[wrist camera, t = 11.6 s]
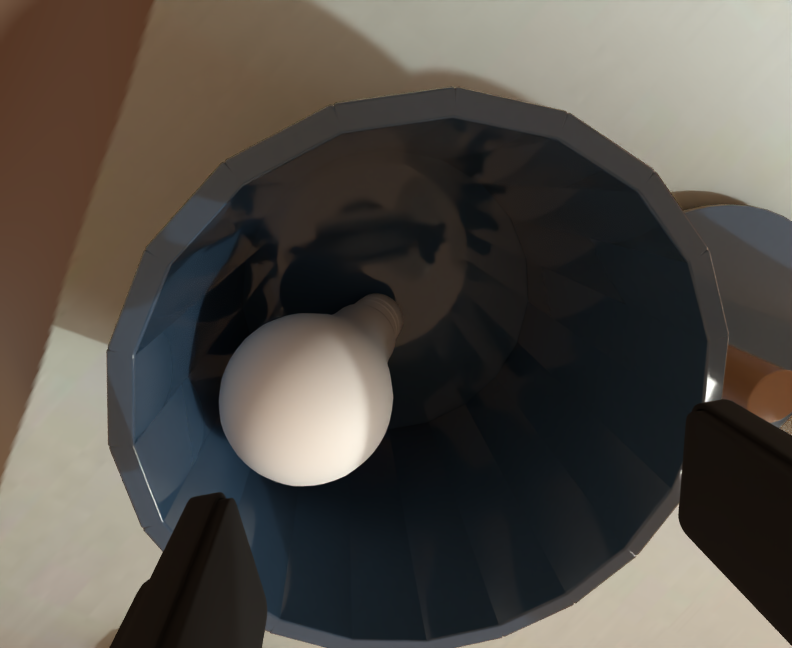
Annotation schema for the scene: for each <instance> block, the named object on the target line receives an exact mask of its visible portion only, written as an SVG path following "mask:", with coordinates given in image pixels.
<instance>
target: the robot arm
mask: <svg viewBox="0 0 792 648" xmlns="http://www.w3.org/2000/svg"><path fill="white" fill-rule="evenodd" d="M678 516H679V522H680V525H681V527H682V529H683V531H684V532H685V534H686V535H687V536H688V537H689V538H690V539H691V540H692V541H693V542H694V543H695V544H696V546H697V547H698V548H699V549H700V550H701V551H702V552H703V553H704V554H705V555H706V556H707V557H708V558H709V559H710V560H711V561H712V562H713V563H714V564H715V566H716V567H717V568H718V569H719V570H720V571H721V572H722V573H723V574H724V575H725V576H726V577H727V578H728V579H729V580H730V581H731V582H732V583H733V584H734V586H735V587H736V588H737V589H738V590H739V591H740V592H741V593H742V594H743V595H744V596H745V597H746V598H747V599H748V600H749V601H750V602H751V603H752V604H753V606H754V607H755V608H756V609H757V610H758V611H759V612H760V613H761V614H762V615H763V616H764V617H765V618H766V619H767V620H768V621H769V622H770V623H771V624H772V626H773V627H774V628H775V629H776V630H777V631H778V632H779V633H780V634H781V635H782V636H783V637H784V638H785V639H786V640H787V641H788V642H789V643H790V644H791V646H792V436H791V435H790V434H788V433H786V432H785V431H783V430H781V429H779V428H778V427H776V426H774V425H772V424H771V423H769V422H767V421H766V420H764V419H762V418H760V417H759V416H757V415H755V414H754V413H752V412H750V411H748V410H747V409H745V408H743V407H741V406H740V405H738V404H736V403H735V402H733V401H730V400H728V399H721V400H715V401H710V402H704V403H699V404H697V405H695V406H694V407H693V409H692V412H691V413H689V414H688V415H687V418H686V426H685V438H684V451H683V463H682V476H681V489H680V501H679V514H678ZM266 621H267V601H266V596H265V593H264V590H263V587H262V584H261V580H260V577H259V574H258V571H257V568H256V564H255V561H254V558H253V555H252V552H251V549H250V545H249V542H248V539H247V536H246V533H245V529H244V526H243V523H242V520H241V517H240V513H239V510H238V507H237V504H236V501H235V500H234V498H227V499H226V496H225V495H224V494H223V493H222V492H217V493H211V494H206V495H201V496H195V497H192V498H190V499H189V501H188V502H187V504H186V506H185V508H184V510H183V512H182V514H181V516H180V518H179V520H178V522H177V524H176V526H175V528H174V531H173V533H172V535H171V537H170V539H169V541H168V543H167V545H166V547H165V549H164V551H163V553H162V555H161V557H160V559H159V561H158V563H157V565H156V567H155V569H154V572H153V574H152V576H151V578H150V579H149V580H147V581H146V582H145V583H144V584H143V585H142V586H141V588H140V589H139V591H138V592H137V594H136V596H135V598H134V600H133V602H132V604H131V606H130V608H129V610H128V612H127V614H126V616H125V618H124V620H123V622H122V624H121V626H120V628H119V630H118V632H117V634H116V636H115V638H114V640H113V642H112V644H111V646H110V648H262V643H263V638H264V632H265V626H266Z"/></svg>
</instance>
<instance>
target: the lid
mask: <svg viewBox="0 0 792 648" xmlns="http://www.w3.org/2000/svg"><path fill="white" fill-rule="evenodd" d="M683 212H684V213H685V215H686V216H687V218H688V219H689V221H690V222H691V224H692V225H693V226H694V228H695V229H696V231H697V232H698V234H699V235H700V237H701V238H702V240H703V241H704V243H705V244H706V246H707V247H708V250H709V251H710V255H711V259H712V263H713V268H714V272H715V276H716V281H717V285H718V289H719V293H720V298H721V302H722V306H723V311H724V315H725V319H726V324H727V328H728V332H729V334H728V337H729V340H728V349H727V358H726V367H725V376H724V385H723V394H722V399H728V400H730V401H733V402H735V403H736V404H738V405H740V406H741V407H743V408H745V409H747V410H748V411H750V412H752V413H754V414H755V415H757V416H759V417H760V418H762V419H764V420H766V421H767V422H769V423H771V424H772V425H774V426H776V427H778V428H780V427H781V426H782V425H783V424H784V423H785V422H786V421H787V420H788V419H789V418H790V417H791V416H792V221H790V220H789V219H787V218H786V217H784V216H782V215H779V214H777V213H774V212H772V211H769V210H767V209H762V208H758V207H753V206H747V205H732V204H716V205H705V206H699V207H695V208H691V209H686V210H683Z"/></svg>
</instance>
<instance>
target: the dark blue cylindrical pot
mask: <svg viewBox="0 0 792 648" xmlns="http://www.w3.org/2000/svg"><path fill="white" fill-rule="evenodd" d="M373 293H379V294H384V295H386V296H388V297H390V298H391V299H393V300H394V301H395V302H396V303H397V304H398V306H399V307H400V309H401V311H402V314H403V325H402V328H401V331H400V333H399V334H398V336H397V338H396V339H395V347H394V350H393V353H392V354H391V356H390V358H389V360H388V363H387V364H388V368H389V371H390V377H391V383H392V391H393V404H392V412H391V417H390V422H389V425H388V427H387V430H386V433H385V435H384V437H383V439H382V440H381V442H380V444H379V445H378V447H377V448H376V450H375V451H374V452H373V454H372V455H371V456H370V457H369V458H368V459H367V460H366V461H365V462H364V463H362V464H361V465H360V466H359V467H357V468H356V469H355V470H353V471H352V472H350V473H349V474H347V475H346V476H344V477H342V478H339V479H337V480H334V481H331V482H328V483H325V484H319V485H314V486H291V485H286V484H282V483H279V482H276V481H273V480H271V479H268V478H266V477H264V476H262V475H260V474H258V473H257V472H255V471H254V470H252V469H251V468H250V467H249V466H248V465H246V464H245V463H244V462H243V461H242V460H241V459H240V457H239V456H238V455H237V454H236V452H235V451H234V449H233V448H232V446H231V445H230V443H229V441H228V439H227V437H226V435H225V433H224V431H223V428H222V425H221V420H220V411H219V393H220V386H221V379H222V377H223V374H224V371H225V368H226V366H227V364H228V362H229V360H230V358H231V357H232V355H233V354H234V352H235V351H236V350H237V348H238V347H239V346H240V344H241V343H242V342H243V341H244V339H245V338H247V337H248V336H249V335H250V334H252V333H253V332H254V331H256V330H257V329H258V328H260V327H261V326H262V325H264V324H266V323H268V322H271V321H273V320H275V319H278V318H281V317H284V316H287V315H292V314H298V313H316V314H330V315H333V314H335V313H337V312H338V311H339V310H341V309H342V308H343V307H346V306H348V305H352V304H355V303H356V302H357V301H359V300H360V299H362V298H363V297H365V296H366V295H369V294H373ZM728 334H729V332H728V328H727V324H726V319H725V315H724V311H723V306H722V302H721V298H720V293H719V289H718V285H717V281H716V276H715V272H714V268H713V263H712V259H711V255H710V251H709V250H708V247H707V246H706V244H705V243H704V241H703V240H702V238H701V237H700V235H699V234H698V232H697V231H696V229H695V228H694V226H693V225H692V224H691V222H690V221H689V219H688V218H687V216H686V215H685V213H684V212H683V210H682V209H681V207H680V206H679V204H678V203H677V202H676V200H675V199H674V197H673V196H672V194H671V193H670V191H669V190H668V188H667V187H666V185H665V184H664V182H663V181H662V180H661V178H660V177H659V175H658V174H657V173H656V172H655V171H654V170H653V169H652V168H651V167H650V166H648V165H647V164H645V163H644V162H642V161H641V160H639V159H638V158H636V157H635V156H633V155H632V154H630V153H629V152H627V151H626V150H624V149H623V148H621V147H620V146H618V145H617V144H615V143H614V142H612V141H611V140H609V139H608V138H606V137H605V136H603V135H602V134H601V133H599V132H598V131H596V130H595V129H593V128H592V127H590V126H589V125H587V124H586V123H584V122H583V121H581V120H580V119H578V118H577V117H575V116H574V115H572V114H571V113H567V112H566V111H564V110H560V109H555V108H551V107H546V106H542V105H537V104H533V103H528V102H524V101H519V100H515V99H510V98H506V97H501V96H497V95H493V94H488V93H484V92H479V91H475V90H470V89H466V88H461V87H455V88H454V87H445V88H437V89H430V90H423V91H416V92H408V93H401V94H394V95H387V96H380V97H372V98H365V99H358V100H351V101H343V102H336V103H335V104H334V106H333V105H328V106H326V107H324V108H323V109H321V110H319V111H317V112H315V113H313V114H311V115H309V116H307V117H305V118H304V119H302V120H300V121H298V122H296V123H294V124H292V125H290V126H288V127H287V128H285V129H283V130H281V131H279V132H277V133H275V134H273V135H271V136H270V137H268V138H266V139H264V140H262V141H260V142H258V143H256V144H254V145H253V146H251V147H249V148H247V149H245V150H243V151H241V152H239V153H237V154H236V155H234V156H232V157H230V158H228V159H226V161H225V162H222V163H221V164H220V165H219V166H218V167H217V168H216V169H215V170H214V172H213V173H212V174H211V175H210V176H209V177H208V178H207V179H206V181H205V182H204V183H203V184H202V185H201V186H200V187H199V188H198V189H197V191H196V192H195V193H194V194H193V195H192V196H191V197H190V198H189V200H188V201H187V202H186V203H185V204H184V205H183V206H182V207H181V208H180V210H179V211H178V212H177V213H176V214H175V215H174V216H173V217H172V218H171V220H170V221H169V222H168V223H167V224H166V225H165V226H164V227H163V229H162V230H161V231H160V232H159V233H158V234H157V235H156V236H155V237H154V239H153V240H152V241H151V242H150V243H149V244H148V245H147V246H146V250H145V251H144V252H143V255H142V258H141V260H140V263H139V265H138V268H137V271H136V273H135V276H134V279H133V281H132V284H131V286H130V289H129V292H128V294H127V297H126V300H125V302H124V305H123V308H122V310H121V313H120V315H119V318H118V321H117V323H116V326H115V329H114V331H113V334H112V337H111V339H110V342H109V344H108V349H107V408H108V445H109V446H110V447H109V449H110V451H111V454H112V456H113V459H114V461H115V464H116V466H117V468H118V471H119V473H120V476H121V478H122V481H123V483H124V485H125V488H126V490H127V493H128V495H129V498H130V500H131V503H132V505H133V507H134V510H135V512H136V515H137V517H138V520H139V522H140V525H141V527H142V528H143V529H144V531H145V532H146V533H147V535H148V536H149V537H150V538H151V539H152V540H153V541H154V542H155V543H156V545H157V546H158V547H159V548H160V549H161V550H162V551H164V549H165V547H166V545H167V543H168V541H169V539H170V537H171V535H172V533H173V531H174V528H175V526H176V524H177V522H178V520H179V518H180V516H181V514H182V512H183V510H184V508H185V506H186V504H187V502H188V501H189V499H190V498H192V497H195V496H201V495H206V494H211V493H217V492H222V493H223V494H224V495H225V496H226V499H227V498H234V500H235V501H236V504H237V507H238V510H239V513H240V517H241V520H242V523H243V526H244V529H245V533H246V536H247V539H248V542H249V545H250V549H251V552H252V555H253V558H254V561H255V564H256V568H257V571H258V574H259V577H260V580H261V584H262V587H263V590H264V593H265V596H266V601H267V621H266V626H265V630H266V631H268V632H269V631H270V633H272V634H275V635H279V636H283V637H287V638H290V639H294V640H298V641H302V642H306V643H309V644H313V645H317V646H321V647H325V648H457V647H462V646H467V645H471V644H476V643H480V642H485V641H490V640H494V639H499V638H502V636H503V637H505V636H507V635H509V634H512V633H514V632H516V631H518V630H520V629H522V628H525V627H527V626H529V625H531V624H533V623H535V622H538V621H540V620H542V619H544V618H546V617H548V616H550V615H553V614H555V613H557V612H559V611H561V610H563V609H566V608H568V607H570V606H572V605H573V604H574V603H577V602H578V601H580V600H581V599H582V598H583V597H585V596H586V595H587V594H589V593H590V592H591V591H593V590H594V589H595V588H596V587H598V586H599V585H600V584H602V583H603V582H604V581H605V580H607V579H608V578H609V577H611V576H612V575H613V574H614V573H616V572H617V571H618V570H620V569H621V568H622V567H624V566H625V565H626V564H627V563H629V562H630V561H631V560H633V559H634V558H635V557H636V555H638V554H639V553H640V552H641V551H642V549H643V548H644V547H645V546H646V544H647V543H648V542H649V541H650V539H651V538H652V537H653V536H654V534H655V533H656V532H657V531H658V529H659V528H660V527H661V526H662V524H663V523H664V522H665V521H666V519H667V518H668V517H669V516H670V514H671V513H672V512H673V511H674V509H675V508H676V507H677V506H678V504H679V501H680V489H681V476H682V463H683V451H684V438H685V426H686V418H687V415H688V414H689V413H691V412H692V409H693V407H694V406H695V405H697V404H699V403H704V402H710V401H715V400H721V399H722V394H723V385H724V376H725V367H726V358H727V349H728V340H729V337H728Z"/></svg>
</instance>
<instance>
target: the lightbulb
mask: <svg viewBox="0 0 792 648" xmlns="http://www.w3.org/2000/svg"><path fill="white" fill-rule="evenodd" d="M402 325H403V314H402V311H401V309H400V307H399V306H398V304H397V303H396V302H395V301H394V300H393V299H391V298H390V297H388V296H386V295H384V294H379V293H373V294H369V295H366V296H365V297H363V298H362V299H360V300H359V301H357V302H356V303H355V304H352V305H348V306H346V307H343V308H342V309H341V310H339V311H338V312H337V313H335V314H333V315H330V314H316V313H298V314H292V315H287V316H284V317H281V318H278V319H275V320H273V321H271V322H268V323H266V324H264V325H262V326H261V327H260V328H258V329H257V330H256V331H254V332H253V333H252V334H250V335H249V336H248V337H247V338H245V339H244V341H243V342H242V343H241V344H240V346H239V347H238V348H237V350H236V351H235V352H234V354H233V355H232V357H231V358H230V360H229V362H228V364H227V366H226V368H225V371H224V374H223V377H222V379H221V386H220V393H219V411H220V420H221V425H222V428H223V431H224V433H225V435H226V437H227V439H228V441H229V443H230V445H231V446H232V448H233V449H234V451H235V452H236V454H237V455H238V456H239V457H240V459H241V460H242V461H243V462H244V463H245V464H246V465H248V466H249V467H250V468H251V469H252V470H254V471H255V472H257V473H258V474H260V475H262V476H264V477H266V478H268V479H271V480H273V481H276V482H279V483H282V484H286V485H291V486H314V485H319V484H325V483H328V482H331V481H334V480H337V479H339V478H342V477H344V476H346V475H347V474H349V473H350V472H352V471H353V470H355V469H356V468H357V467H359V466H360V465H361V464H362V463H364V462H365V461H366V460H367V459H368V458H369V457H370V456H371V455H372V454H373V452H374V451H375V450H376V448H377V447H378V445H379V444H380V442H381V440H382V439H383V437H384V435H385V433H386V430H387V427H388V425H389V422H390V417H391V412H392V404H393V391H392V383H391V377H390V371H389V368H388V364H387V363H388V360H389V358H390V356H391V354H392V353H393V350H394V347H395V339H396V338H397V336H398V334H399V333H400V331H401V328H402Z"/></svg>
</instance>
